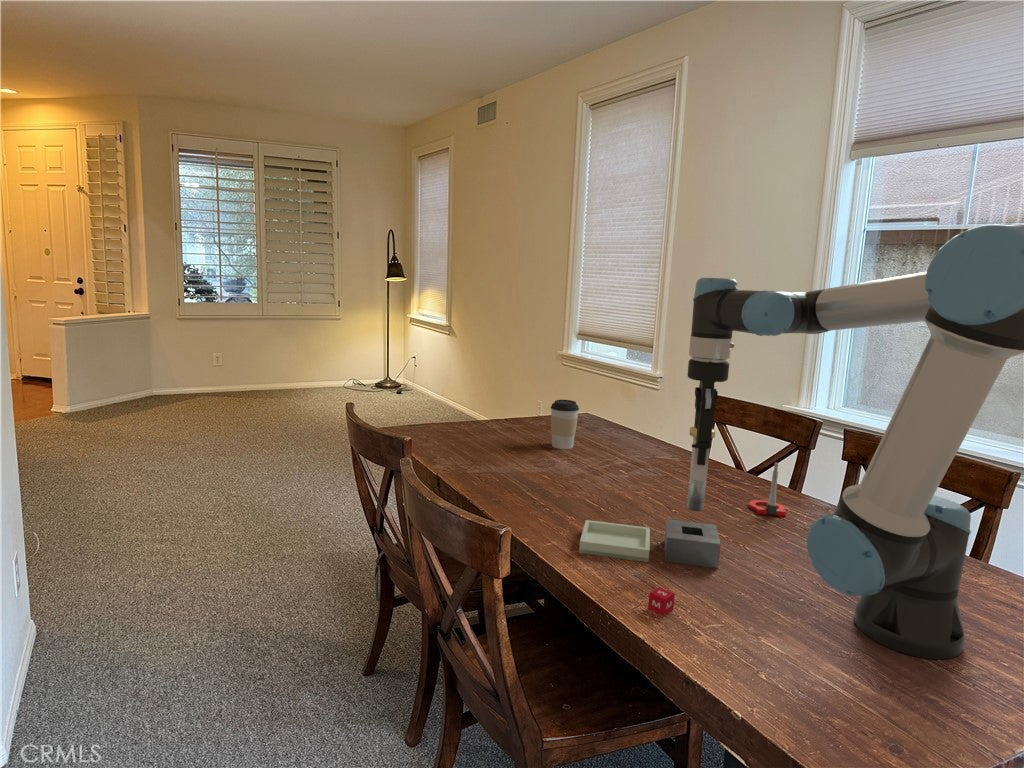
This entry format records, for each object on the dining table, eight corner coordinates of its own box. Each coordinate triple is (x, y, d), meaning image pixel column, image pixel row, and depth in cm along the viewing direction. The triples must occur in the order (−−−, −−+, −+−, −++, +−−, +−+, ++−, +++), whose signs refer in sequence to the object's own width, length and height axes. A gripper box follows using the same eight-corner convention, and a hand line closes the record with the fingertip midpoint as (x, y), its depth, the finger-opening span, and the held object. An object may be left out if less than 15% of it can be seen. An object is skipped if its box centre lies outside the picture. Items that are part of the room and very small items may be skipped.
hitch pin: (708, 514, 126) (716, 433, 123) (683, 511, 127) (690, 431, 124) (706, 505, 131) (714, 427, 128) (682, 503, 132) (689, 425, 129)
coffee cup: (545, 448, 205) (547, 401, 202) (552, 441, 213) (554, 396, 210) (573, 451, 202) (576, 404, 199) (579, 444, 211) (582, 399, 208)
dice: (648, 608, 109) (649, 592, 108) (657, 603, 111) (659, 586, 111) (663, 616, 107) (665, 599, 106) (673, 610, 109) (674, 593, 108)
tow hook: (745, 503, 164) (753, 514, 155) (750, 453, 162) (758, 462, 153) (779, 506, 163) (789, 518, 154) (785, 456, 161) (796, 465, 152)
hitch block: (718, 568, 125) (720, 544, 124) (665, 561, 127) (667, 537, 126) (713, 547, 135) (715, 524, 134) (664, 541, 137) (666, 518, 136)
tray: (648, 562, 126) (649, 550, 126) (579, 552, 129) (579, 541, 129) (648, 538, 138) (649, 527, 137) (585, 530, 140) (585, 519, 140)
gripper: (734, 366, 115) (722, 492, 119) (725, 355, 131) (714, 467, 135) (691, 363, 117) (680, 487, 121) (686, 353, 132) (677, 463, 136)
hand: (698, 476), depth 128 cm, fingers closed on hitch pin, 3 cm apart
